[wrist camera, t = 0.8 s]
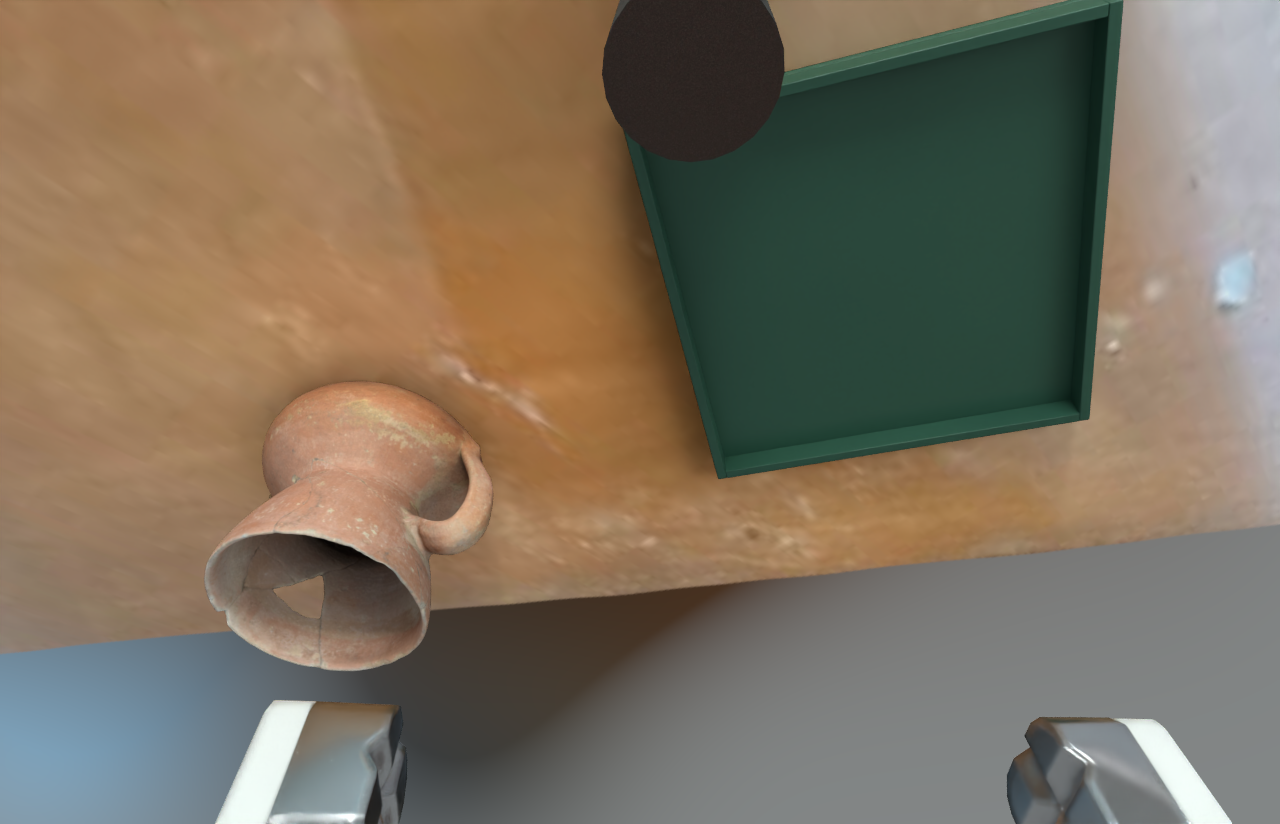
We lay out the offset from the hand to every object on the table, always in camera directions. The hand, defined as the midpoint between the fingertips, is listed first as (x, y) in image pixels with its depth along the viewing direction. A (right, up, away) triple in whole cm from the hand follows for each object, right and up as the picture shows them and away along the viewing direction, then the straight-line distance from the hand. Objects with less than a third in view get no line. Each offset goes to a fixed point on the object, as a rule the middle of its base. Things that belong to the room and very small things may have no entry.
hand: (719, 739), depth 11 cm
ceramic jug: (-18, +2, +46) cm, 50 cm away
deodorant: (+1, +24, +28) cm, 37 cm away
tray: (+12, +12, +37) cm, 41 cm away
